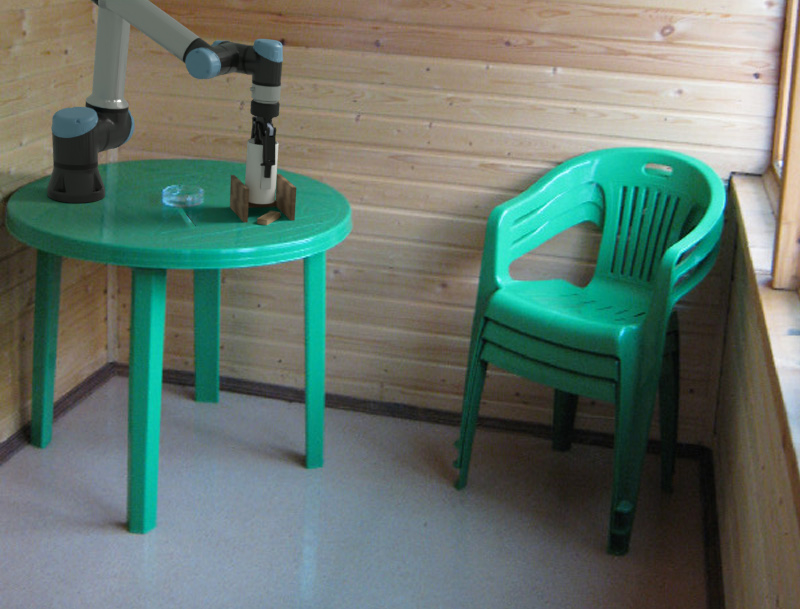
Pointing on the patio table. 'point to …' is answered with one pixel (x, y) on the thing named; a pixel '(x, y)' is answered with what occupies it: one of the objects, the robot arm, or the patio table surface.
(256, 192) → the cup
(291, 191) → the rack
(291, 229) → the patio table surface
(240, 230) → the patio table surface
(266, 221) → the offcut slab upper
